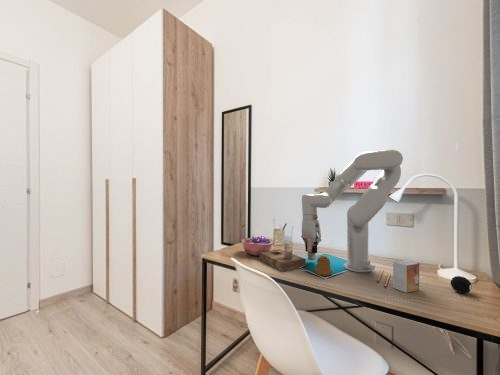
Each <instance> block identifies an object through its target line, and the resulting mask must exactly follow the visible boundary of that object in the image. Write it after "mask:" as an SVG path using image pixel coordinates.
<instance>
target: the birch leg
mask: <svg viewBox="0 0 500 375" xmlns="http://www.w3.org/2000/svg"><path fill="white" fill-rule="evenodd" d="M314 242H315V241H314ZM312 246H313V245H312V240H310V239H307V260H308V261H317V258H316V253H314V254H313V253H312Z"/></svg>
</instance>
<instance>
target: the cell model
mask: <svg viewBox="0 0 500 375" xmlns="http://www.w3.org/2000/svg"><path fill="white" fill-rule="evenodd" d="M241 243H242V249H243V250H244V252H245V253H246V254H249V255H252V256H257V257H258V256H259V252H264V251H271V250H272V246H273V244H274V240H272V239H270V238H267V237H265V236H264V235H261V236H257V237H255V236H254V235H253V236H252V237H246V238H244V239H243V238H242V239H241Z"/></svg>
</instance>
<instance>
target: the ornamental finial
mask: <svg viewBox="0 0 500 375" xmlns="http://www.w3.org/2000/svg"><path fill="white" fill-rule="evenodd" d="M314 271H315V274H317V275H318V274H319V275H318V276H321V275H324V276H323V277H330V276H331V275H332V274H333V270H332V268H331V259H330V258H328V257H327V255H320V256H319V257H318V258H316V267H315V270H314ZM329 275H330V276H329Z"/></svg>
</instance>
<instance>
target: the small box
mask: <svg viewBox="0 0 500 375" xmlns="http://www.w3.org/2000/svg"><path fill="white" fill-rule="evenodd" d="M392 268H393V269H392V288H393V289H395V290H397V291H398V290H399V291H401V292H404V293H411V292H415V291H419V290H420V263H419V262H416V261H413V260H408V259H403V260H398V261H393V262H392Z"/></svg>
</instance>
